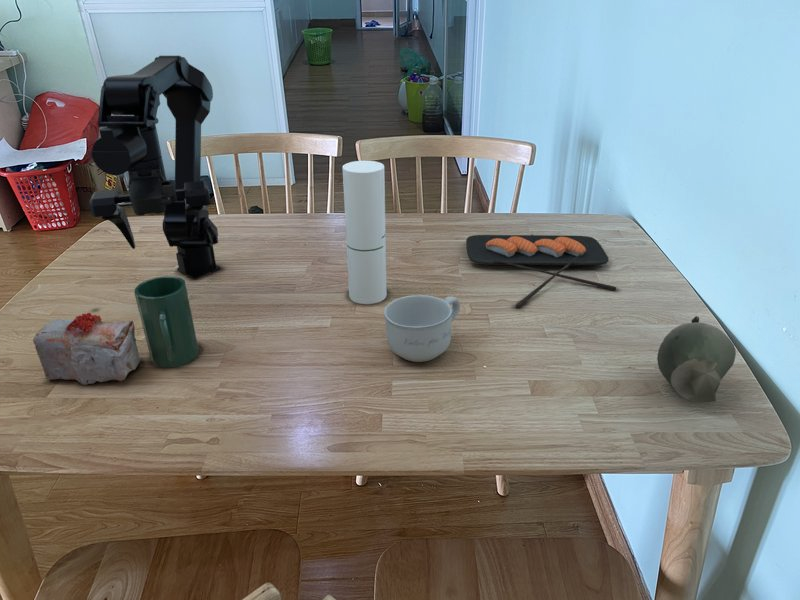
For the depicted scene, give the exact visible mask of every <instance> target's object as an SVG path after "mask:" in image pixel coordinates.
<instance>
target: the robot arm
mask: <svg viewBox="0 0 800 600" xmlns="http://www.w3.org/2000/svg"><path fill="white" fill-rule="evenodd" d="M213 91H214V89H213V85H212V84H211V82H210V81H209V79H208V78H207V76H206V74H205V73H204V72H203V71H201V70H200V69H198V68H196V67H195V66H193V65H192V64H190V63H189V62H188V60H187V58H186V57H185V56H181V55H159V56H156V57H155V58H154V60H153V61H152V62H150V63H148V64H147V65H145V66H143V67H142V68H141V69H139V70H137V71H136V72H134V73H132V74H119V75H113V76H107V77H106V78H105V79H104V80H103V83H102V86H101V89H100V96H99V107H98V116H97V117H98V118H97V126H98V127H99V135H100V138H98V139H96V140H95V141H94V143H93V145H92V148H91V158H92V161H93V163H94V164H95V165H96V166H97V168H98V169H99V170H100V171H101V172H103V173H105V174H108V175H110V176H121V175H123V174H125V173H127V176H128V185H127V189H128V193H127V194H119V191H118V189H116V188H115V189H113V188H112V189H105V190H94V192H93V194H92V195H91V198H90V199H89V202H88V203H89V209H90V213H91V216H92V218H93V217H94V218H99V217H100V218H101V220H103V221H110V222H111V223H112V224H113V225H115V227H116V228H117V229H118V230H119V231H120V232H121V234H122V236H123V237H124V238H125V240H126V241H127V243H128V244H129V246H130V247H131V249H133V250H135V249H136V242H135V238H134V237H135V236H134V233H133V231H132V228H131V224H130V222H129V219H128V218H129V217H128V216H127V212H126V210H125V207H131V206H132V210H133V213H134V215H136V216H139V217H141V216H142V217H143V216H145V215H150V214H151V215H152V214H156V215H157V214H158V215H159V214H163V219H162V231H163V234H164V236H165V238H166V241H167V243H168V246H169V247H171V248H173V247H176V251H177V252H176V253H175V255H176V260H177V268H176V269H177V271H178V272H179V273H181V274H183V275H185V276H187V277H189V278H190V279H192V280H196V279H199V278H201V277H204V276H206V275H209V274H211V273H214V272H218V271H219V270H221V269H222V267H221V265H219V264H217V261H216V255H215V251H214V245H217V244H218V243H219V232H218V227H217V226H216V225H215V223H214V222H213V221H212V220H211V219H210V213H209V210H208V208H207V206H210V205H211V197H210V189H209V185H208V183H207V182H206V181H205V180H201V170H202V168H201V167H202V166H201V165H202V164H201V161H202V159H201V158H202V124H203V123H204V121H205V120H206V118H207V117H208V116H209V114H210V112H211V103H212V101H213V99H214V92H213ZM161 95H163V97H164V98H165V100H166V105H167V107H168V110H169V111H170V113H171V115H172V116H173V118H174V120H175V127H174V128H175V129H174V130H175V133H174V134H175V137H174V138H175V140H174V141H175V142H174V180H173V179H169V180H168V179H167V176H166V171H165V170H166V169H165V166H164V161H163V160H164V159H163V156H162V150H161V145H160V141H159V136H158V130H157V124H158V123H159V118H158V117H157V115H158V108H159V107H160V105H161V100H160V96H161Z"/></svg>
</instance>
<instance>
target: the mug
mask: <svg viewBox="0 0 800 600" xmlns="http://www.w3.org/2000/svg"><path fill="white" fill-rule="evenodd" d="M133 294H134V297H135V301H136V305H137V310H138V313H139V317H140V321H141V325H142V326H141V327H142V329H143V333H144V338H145V342H146V345H147V349H148V353H149V358H150V360H151V363H153V364H154V365H155V366H157V367H159V368H176V367H180V366H184V365H186V364H188V363H190V362H191V361H193V360H194V359H195V358H196V357H198V355H199V351H200V349H199V343H198V338H197V334H196V328H195V323H194V319H193V313H192V309H191V304H190V299H189V294H188V289H187V284H186V281H185V280H184V279H183V278H182V277H178V276H175V275H174V276H173V275H172V276H171V275H164V276H156V277H153V278H152V277H151V278H149V279H145V280H144V281H142V282H140V283H139V284H138V285H137V286H136V287H135V288H134V292H133Z"/></svg>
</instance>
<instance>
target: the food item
mask: <svg viewBox="0 0 800 600" xmlns="http://www.w3.org/2000/svg"><path fill="white" fill-rule="evenodd" d="M135 329H136V328H135V324H134V320H102V318H101V315H97V314H94V315H93V314H92V313H91V312H87V313H82V314H81V315H80V314H79V315H76V316H75V318H74V319H68V318H67V319H62V318H55V319H53V320H50V321H49V322H47V323H45V324H44V326H43V327H42V328H40V329H39V330H38V331H37V332H36V334H35V335H34V337H33V338H32V342H33V345H34V347H35V351H36V354H37V356H38V359H39V361H40V364H41V367H42V369H43V373H44V376H45V379H46V380H47V381H52V380H54V381H56V380H65V381H66V380H74V381H75V380H76V381H77V382H79V383H80V384H81V385H84V386H87V385H89V384H91V385H92V384H95V383H97V382H100V383H103V382H108V381H118V382H123V380H124V381H125V380H126V378H127V376H128V374H130V373H131V372H132V371H135V370H136V369H137V367H138V366H139V364H140V362H141V358H140V354H139V349H138V345H137V339H136V335H135V331H136V330H135Z"/></svg>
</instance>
